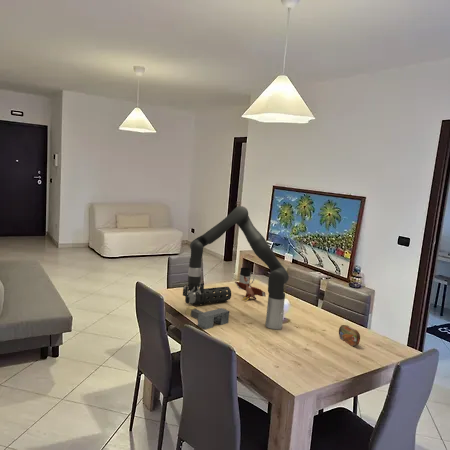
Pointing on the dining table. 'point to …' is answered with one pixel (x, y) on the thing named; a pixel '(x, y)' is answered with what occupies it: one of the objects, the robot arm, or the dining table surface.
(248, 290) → the decorative bird
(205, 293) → the muzzle brake
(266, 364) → the dining table surface
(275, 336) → the dining table surface
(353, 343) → the tin
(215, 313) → the block
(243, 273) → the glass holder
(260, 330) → the dining table surface
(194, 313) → the plug rod
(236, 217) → the robot arm
